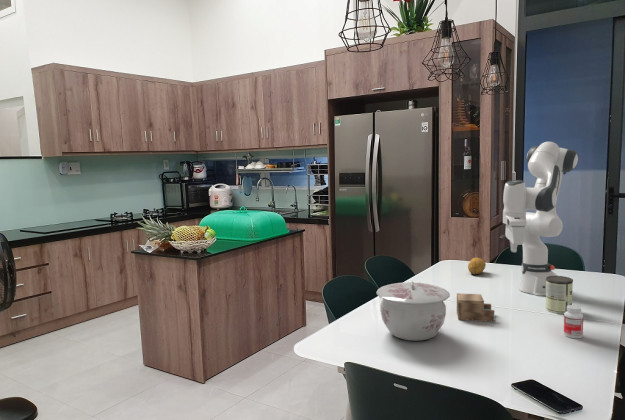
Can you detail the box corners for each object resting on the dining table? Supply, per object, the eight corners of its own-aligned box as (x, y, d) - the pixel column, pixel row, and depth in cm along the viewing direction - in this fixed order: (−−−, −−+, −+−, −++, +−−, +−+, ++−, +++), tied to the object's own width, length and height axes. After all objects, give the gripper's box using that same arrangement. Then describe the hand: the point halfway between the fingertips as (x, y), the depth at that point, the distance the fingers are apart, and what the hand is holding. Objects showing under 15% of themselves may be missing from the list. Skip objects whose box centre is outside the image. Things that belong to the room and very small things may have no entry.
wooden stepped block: (490, 313, 195) (490, 294, 194) (494, 321, 185) (494, 301, 185) (456, 312, 198) (456, 293, 197) (458, 319, 189) (458, 300, 188)
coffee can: (544, 305, 204) (545, 274, 202) (570, 307, 199) (571, 276, 198) (545, 312, 194) (546, 280, 193) (573, 315, 190) (574, 282, 189)
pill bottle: (570, 331, 173) (571, 303, 172) (586, 336, 167) (587, 307, 166) (559, 334, 170) (560, 306, 169) (575, 340, 164) (576, 310, 163)
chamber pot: (407, 355, 156) (407, 296, 154) (363, 330, 180) (362, 279, 178) (467, 338, 169) (467, 284, 167) (417, 317, 193) (417, 269, 191)
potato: (463, 258, 261) (479, 259, 255) (472, 256, 271) (488, 256, 265) (464, 275, 261) (480, 276, 255) (473, 271, 271) (489, 272, 265)
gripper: (502, 216, 200) (501, 246, 202) (510, 222, 181) (510, 256, 182) (517, 216, 199) (516, 247, 200) (527, 222, 179) (527, 256, 181)
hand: (513, 251), depth 191 cm, fingers closed
